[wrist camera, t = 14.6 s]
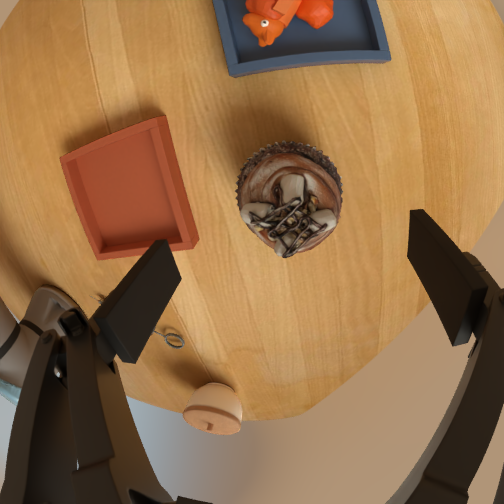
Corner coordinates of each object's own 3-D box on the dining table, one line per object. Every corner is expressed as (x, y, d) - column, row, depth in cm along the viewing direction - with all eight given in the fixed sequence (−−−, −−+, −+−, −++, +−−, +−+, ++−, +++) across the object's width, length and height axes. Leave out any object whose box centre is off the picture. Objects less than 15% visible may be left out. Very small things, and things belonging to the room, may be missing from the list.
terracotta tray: (199, 238, 33) (193, 249, 31) (106, 251, 37) (97, 260, 34) (166, 115, 26) (155, 116, 24) (71, 153, 29) (59, 157, 27)
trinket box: (245, 379, 47) (237, 424, 39) (247, 406, 52) (240, 445, 44) (188, 371, 48) (174, 412, 40) (197, 399, 53) (186, 435, 45)
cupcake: (354, 175, 27) (381, 211, 18) (295, 238, 32) (295, 294, 23) (281, 115, 25) (276, 120, 16) (226, 186, 30) (197, 226, 21)
